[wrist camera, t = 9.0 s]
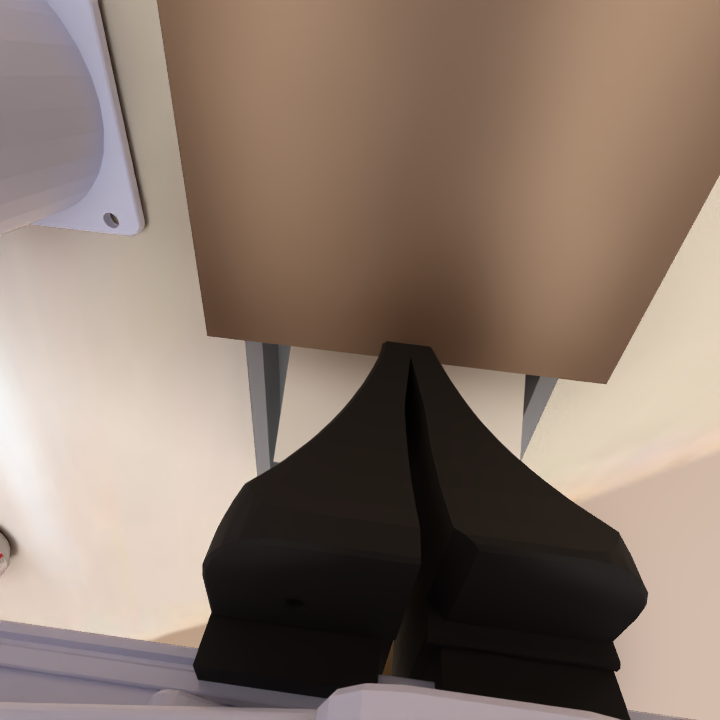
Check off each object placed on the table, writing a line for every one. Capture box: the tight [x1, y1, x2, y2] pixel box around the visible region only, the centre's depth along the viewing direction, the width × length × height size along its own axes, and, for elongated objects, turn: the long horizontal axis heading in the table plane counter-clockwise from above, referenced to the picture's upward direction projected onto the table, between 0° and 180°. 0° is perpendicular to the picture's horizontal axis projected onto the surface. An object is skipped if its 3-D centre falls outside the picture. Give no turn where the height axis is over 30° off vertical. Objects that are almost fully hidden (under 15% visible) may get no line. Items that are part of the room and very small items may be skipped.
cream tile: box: [273, 346, 526, 462], centre depth 15 cm, size 8×4×2 cm
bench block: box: [157, 0, 720, 384], centre depth 11 cm, size 12×12×4 cm
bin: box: [245, 340, 558, 476], centre depth 18 cm, size 11×10×2 cm
